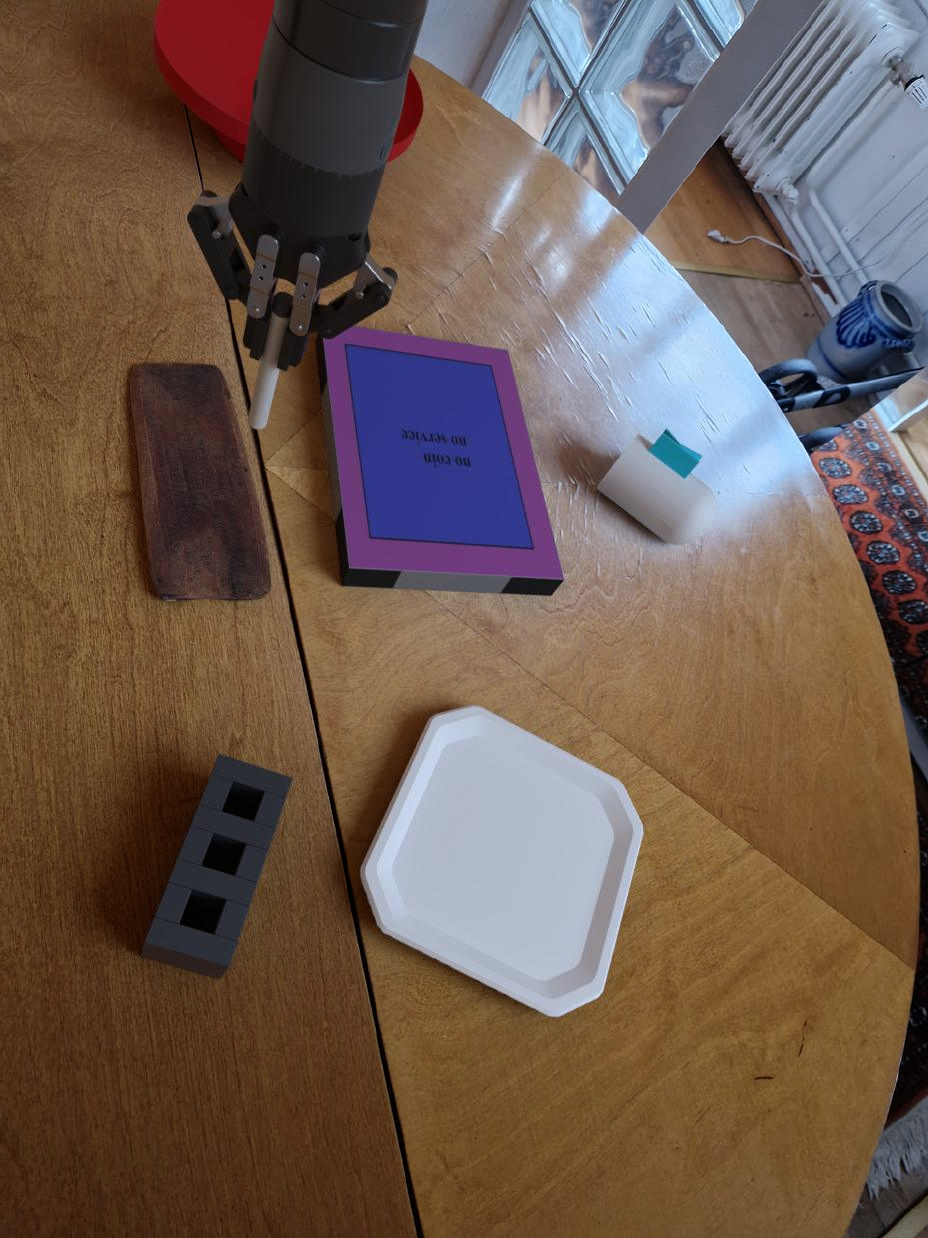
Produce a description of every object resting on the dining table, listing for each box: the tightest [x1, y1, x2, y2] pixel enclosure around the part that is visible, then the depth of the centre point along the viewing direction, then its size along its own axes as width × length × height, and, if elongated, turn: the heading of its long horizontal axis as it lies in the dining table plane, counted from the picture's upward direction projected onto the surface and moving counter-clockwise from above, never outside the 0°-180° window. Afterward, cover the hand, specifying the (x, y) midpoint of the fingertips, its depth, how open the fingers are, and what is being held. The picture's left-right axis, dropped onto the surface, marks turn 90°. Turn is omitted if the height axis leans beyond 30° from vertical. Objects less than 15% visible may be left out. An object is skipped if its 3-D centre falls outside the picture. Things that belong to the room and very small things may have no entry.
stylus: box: [247, 291, 294, 430], centre depth 63 cm, size 1×1×12 cm
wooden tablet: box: [129, 362, 272, 603], centre depth 79 cm, size 26×2×10 cm
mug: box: [596, 427, 717, 546], centre depth 96 cm, size 12×9×12 cm
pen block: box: [140, 753, 293, 980], centre depth 62 cm, size 13×6×5 cm, turn 168°
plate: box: [359, 704, 644, 1018], centre depth 71 cm, size 21×21×2 cm
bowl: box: [152, 0, 425, 164], centre depth 105 cm, size 30×30×10 cm
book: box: [314, 325, 565, 597], centre depth 89 cm, size 21×3×30 cm
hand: (271, 356), depth 62 cm, fingers closed on stylus, 1 cm apart
